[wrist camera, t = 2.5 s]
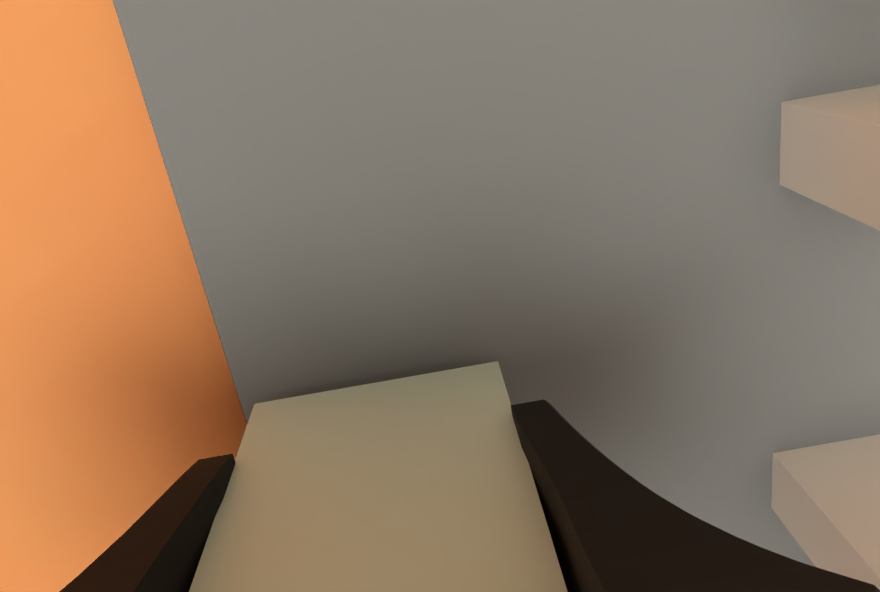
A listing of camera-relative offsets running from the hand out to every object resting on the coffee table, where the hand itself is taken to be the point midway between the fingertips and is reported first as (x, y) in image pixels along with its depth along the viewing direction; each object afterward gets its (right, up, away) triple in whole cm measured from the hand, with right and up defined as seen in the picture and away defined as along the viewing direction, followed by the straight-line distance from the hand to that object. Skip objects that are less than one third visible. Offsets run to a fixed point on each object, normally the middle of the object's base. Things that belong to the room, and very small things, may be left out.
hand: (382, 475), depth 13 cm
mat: (+6, +1, +3) cm, 7 cm away
